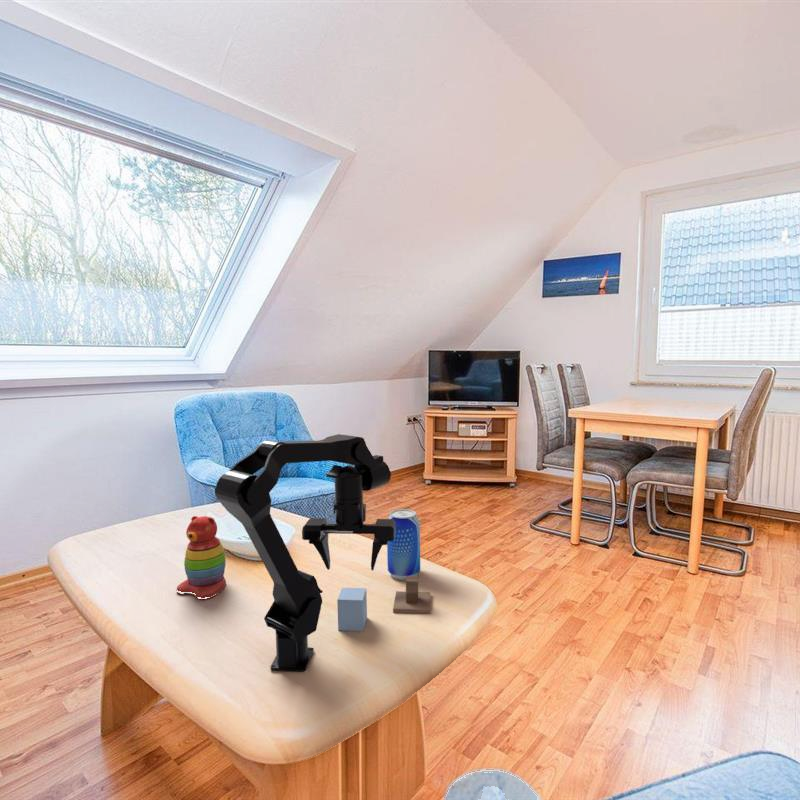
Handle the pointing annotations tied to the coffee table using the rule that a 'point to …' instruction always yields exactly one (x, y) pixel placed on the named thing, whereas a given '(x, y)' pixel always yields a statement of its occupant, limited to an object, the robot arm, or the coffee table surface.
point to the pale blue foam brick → (352, 609)
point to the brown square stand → (412, 598)
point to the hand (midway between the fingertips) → (350, 569)
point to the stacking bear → (203, 559)
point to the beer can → (404, 545)
